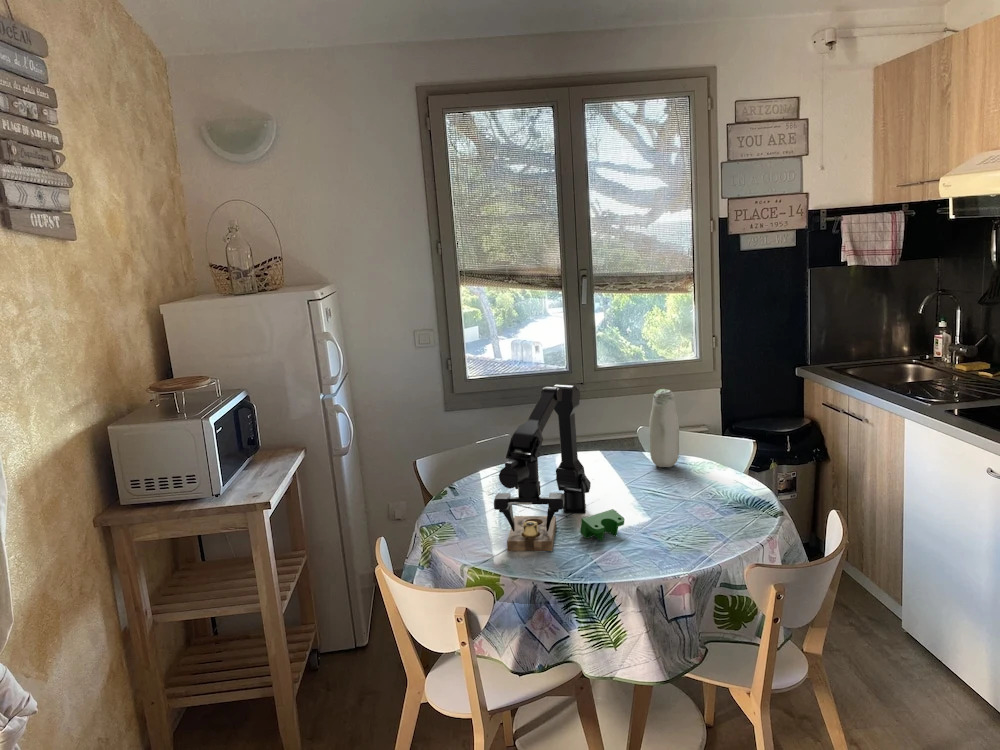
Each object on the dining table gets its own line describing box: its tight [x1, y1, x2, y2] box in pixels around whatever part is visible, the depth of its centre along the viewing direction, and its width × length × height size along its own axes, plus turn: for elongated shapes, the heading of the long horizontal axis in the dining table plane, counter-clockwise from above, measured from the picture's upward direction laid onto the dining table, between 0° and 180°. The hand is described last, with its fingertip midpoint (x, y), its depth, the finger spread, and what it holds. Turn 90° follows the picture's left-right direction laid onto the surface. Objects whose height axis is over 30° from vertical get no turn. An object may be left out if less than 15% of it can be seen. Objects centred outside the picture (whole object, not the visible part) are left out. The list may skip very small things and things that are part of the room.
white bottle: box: [648, 388, 680, 468], centre depth 257 cm, size 10×10×28 cm
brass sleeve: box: [523, 521, 538, 538], centre depth 202 cm, size 4×4×6 cm
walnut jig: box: [506, 515, 557, 552], centre depth 206 cm, size 12×18×3 cm
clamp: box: [579, 508, 625, 542], centre depth 205 cm, size 12×6×9 cm, turn 114°
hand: (530, 530), depth 202 cm, fingers open, 9 cm apart
